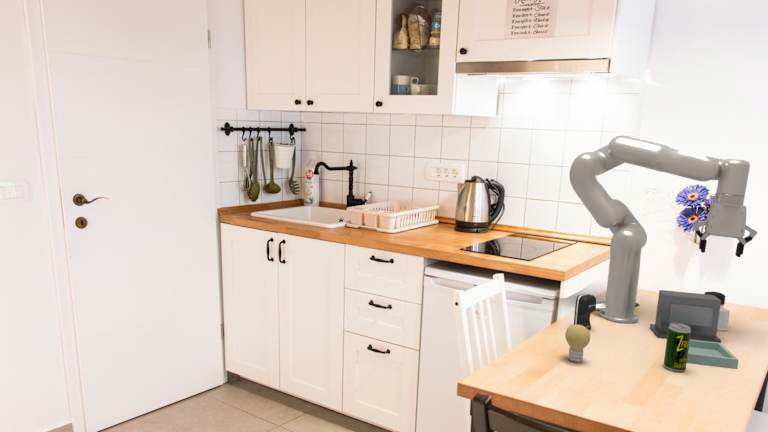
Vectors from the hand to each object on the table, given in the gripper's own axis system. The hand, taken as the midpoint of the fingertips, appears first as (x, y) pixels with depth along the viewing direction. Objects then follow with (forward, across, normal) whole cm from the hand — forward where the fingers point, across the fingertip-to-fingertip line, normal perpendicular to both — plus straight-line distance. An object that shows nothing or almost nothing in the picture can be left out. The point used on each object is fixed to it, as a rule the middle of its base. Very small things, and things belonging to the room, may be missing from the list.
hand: (720, 254), depth 173 cm
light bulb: (+28, -38, -42) cm, 63 cm away
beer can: (+27, -13, -34) cm, 46 cm away
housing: (+27, -7, -4) cm, 28 cm away
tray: (+27, -4, -21) cm, 34 cm away
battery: (+28, -37, -14) cm, 48 cm away
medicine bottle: (+27, +3, +10) cm, 29 cm away
